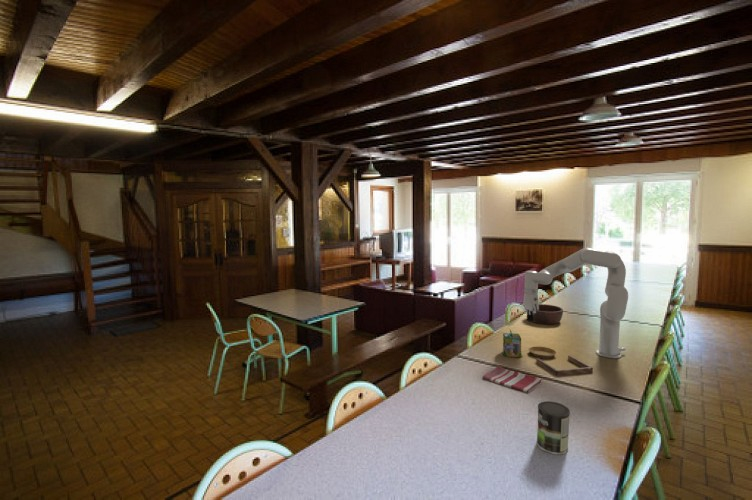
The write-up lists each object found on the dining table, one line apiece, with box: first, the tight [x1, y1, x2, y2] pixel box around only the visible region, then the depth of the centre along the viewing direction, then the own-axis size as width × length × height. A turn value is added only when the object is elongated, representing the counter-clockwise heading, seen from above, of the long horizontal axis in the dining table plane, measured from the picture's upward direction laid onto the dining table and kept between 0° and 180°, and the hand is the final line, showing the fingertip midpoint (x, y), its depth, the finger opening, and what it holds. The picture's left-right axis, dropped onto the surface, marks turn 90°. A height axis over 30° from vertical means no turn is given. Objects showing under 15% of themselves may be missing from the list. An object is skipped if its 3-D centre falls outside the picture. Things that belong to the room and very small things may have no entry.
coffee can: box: [536, 400, 571, 455], centre depth 137 cm, size 10×10×14 cm
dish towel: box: [482, 365, 543, 394], centre depth 191 cm, size 17×23×3 cm
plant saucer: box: [528, 346, 557, 359], centre depth 224 cm, size 15×15×3 cm
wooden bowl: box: [532, 303, 564, 325], centre depth 292 cm, size 25×25×10 cm
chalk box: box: [502, 329, 522, 358], centre depth 225 cm, size 9×9×15 cm
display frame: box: [535, 354, 594, 377], centre depth 206 cm, size 21×18×2 cm
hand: (529, 320), depth 236 cm, fingers closed
